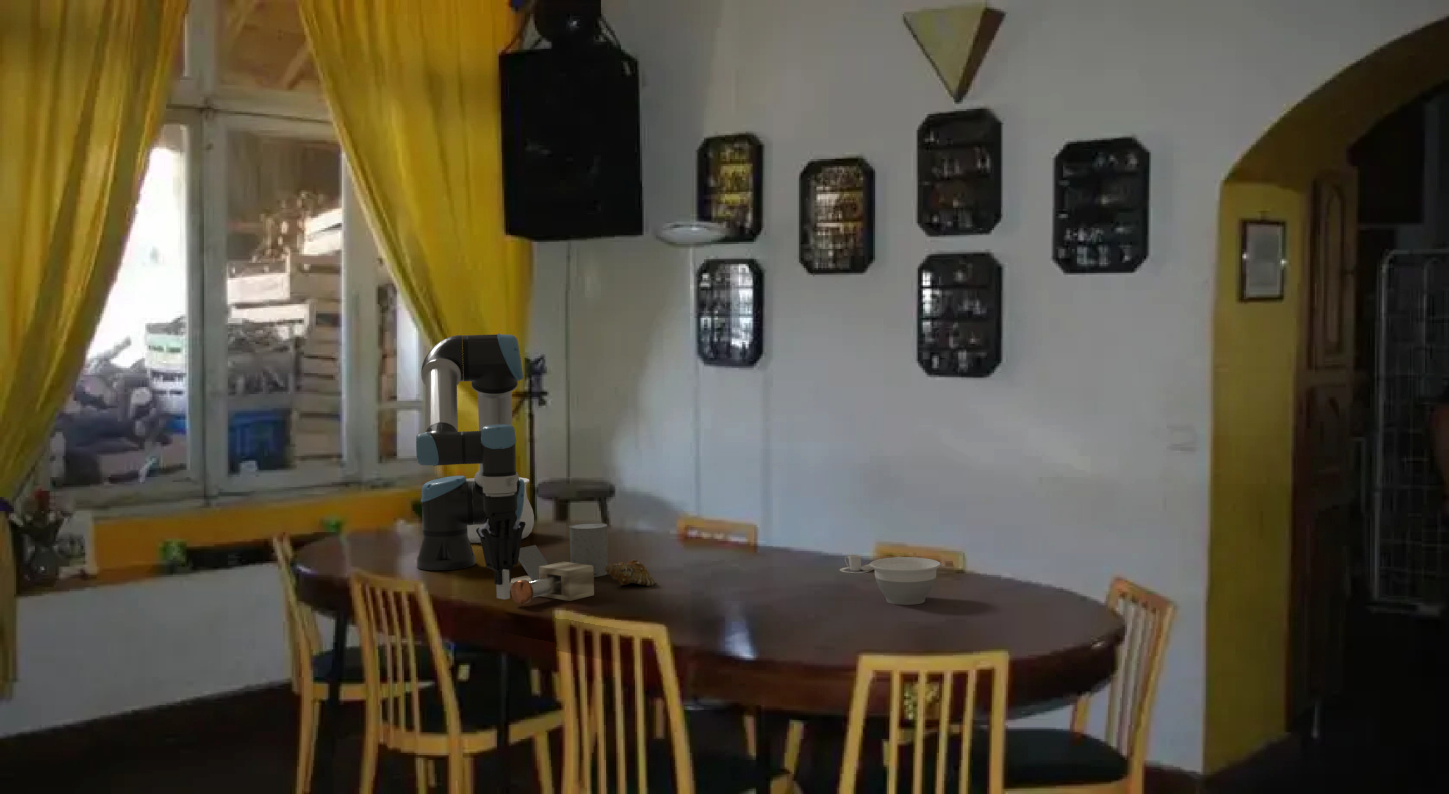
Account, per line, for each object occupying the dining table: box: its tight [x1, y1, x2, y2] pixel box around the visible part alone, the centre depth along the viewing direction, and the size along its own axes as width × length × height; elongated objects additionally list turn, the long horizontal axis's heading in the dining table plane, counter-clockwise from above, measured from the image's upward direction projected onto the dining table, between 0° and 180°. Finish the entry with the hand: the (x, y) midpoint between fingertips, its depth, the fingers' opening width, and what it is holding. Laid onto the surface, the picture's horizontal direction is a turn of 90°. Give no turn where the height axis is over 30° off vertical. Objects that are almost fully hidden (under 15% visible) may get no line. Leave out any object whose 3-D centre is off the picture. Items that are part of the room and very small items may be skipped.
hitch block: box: [509, 561, 595, 602], centre depth 346 cm, size 23×8×7 cm, turn 51°
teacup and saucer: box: [839, 554, 875, 574], centre depth 367 cm, size 9×8×4 cm
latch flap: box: [518, 544, 550, 581], centre depth 348 cm, size 11×7×1 cm
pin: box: [510, 576, 561, 605], centre depth 336 cm, size 5×14×5 cm, turn 141°
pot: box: [466, 476, 535, 544], centre depth 429 cm, size 26×24×17 cm
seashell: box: [605, 559, 655, 587], centre depth 353 cm, size 9×8×10 cm
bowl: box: [869, 556, 942, 606], centre depth 329 cm, size 16×16×9 cm
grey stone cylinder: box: [568, 522, 609, 578], centre depth 369 cm, size 10×10×12 cm
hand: (503, 598), depth 327 cm, fingers closed
